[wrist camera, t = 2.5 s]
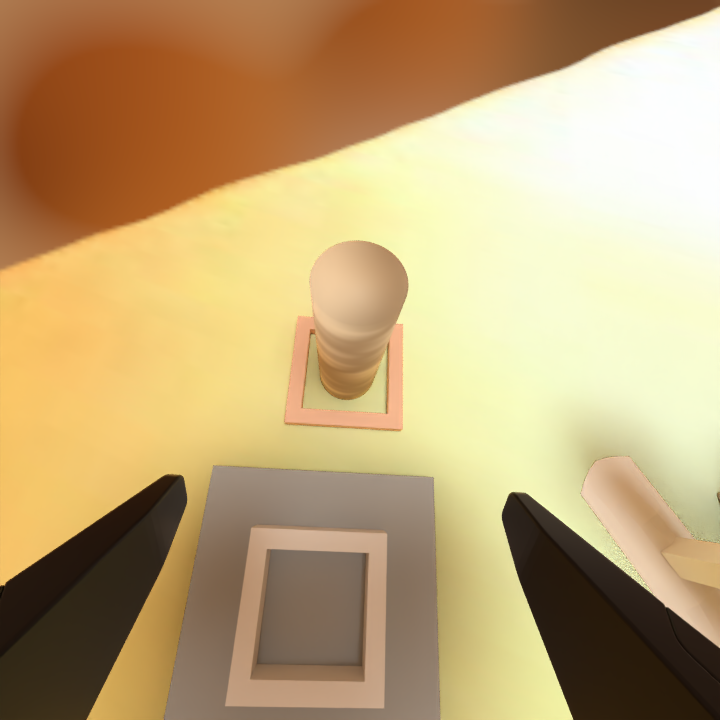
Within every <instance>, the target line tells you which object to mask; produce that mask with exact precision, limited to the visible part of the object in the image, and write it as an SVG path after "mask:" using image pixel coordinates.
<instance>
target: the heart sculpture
mask: <svg viewBox="0 0 720 720" xmlns="http://www.w3.org/2000/svg"><path fill="white" fill-rule="evenodd" d="M581 495H582V497H583V498H584V499H585V501H586V502H587V503H588V505H589V506H590V508H591V509H592V510H593V512H594V513H595V514H596V516H597V517H598V519H599V520H600V521H601V523H602V524H603V525H604V527H605V528H606V530H607V531H608V532H609V534H610V535H611V536H612V538H613V539H614V540H615V542H616V543H617V545H618V546H619V547H620V549H621V550H622V551H623V553H624V554H625V556H626V557H627V558H628V560H629V561H630V562H631V564H632V565H633V567H634V568H635V569H636V571H637V572H638V573H639V575H640V576H641V578H642V579H643V580H644V582H645V583H646V584H647V586H648V587H649V589H650V590H651V591H652V593H653V594H654V595H655V597H656V598H657V599H659V600H660V601H661V602H662V603H664V605H665V607H669V608H670V609H671V610H672V611H674V612H675V613H676V614H677V615H679V616H680V617H681V618H682V619H684V620H685V621H686V622H687V623H689V624H690V625H691V626H692V627H694V628H695V629H696V630H698V631H699V632H700V633H701V634H703V635H704V636H705V637H707V638H708V639H709V640H710V641H712V642H713V643H714V644H715V645H717V646H718V647H719V648H720V543H713V542H707V541H700V540H695V538H694V537H693V536H692V535H691V533H690V532H689V531H688V529H687V528H686V527H685V526H684V524H683V523H682V522H681V521H680V519H679V518H678V517H677V516H676V514H675V513H674V512H673V511H672V509H671V508H670V507H669V506H668V504H667V503H666V502H665V501H664V499H663V498H662V497H661V496H660V494H659V493H658V492H657V491H656V489H655V488H654V487H653V486H652V484H651V483H650V482H649V481H648V479H647V478H646V477H645V475H644V474H643V473H642V472H641V470H640V469H639V468H638V467H637V465H636V464H635V463H634V462H633V460H632V459H631V458H630V457H629V456H615V457H607V458H603V459H600V460H597V461H595V462H594V464H593V465H592V467H591V468H590V469H589V471H588V474H587V476H586V478H585V481H584V484H583V487H582V491H581Z"/></svg>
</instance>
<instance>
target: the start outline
mask: <svg viewBox="0 0 720 720" xmlns="http://www.w3.org/2000/svg"><path fill="white" fill-rule="evenodd" d="M311 334H315V326H314V317H305V316H298V320H297V328H296V336H295V344H294V351H293V359H292V367H291V375H290V383H289V390H288V398H287V406H286V414H285V421H284V422H285V423H286V424H294V425H310V426H327V427H343V428H359V429H376V430H392V431H401V430H402V429H403V324H395V327H394V330H393V332H392V335H391V337H390V340H389V342H388V368H387V414H383V413H368V412H352V411H336V410H321V409H305V408H302V407H303V398H304V389H305V380H306V371H307V362H308V353H309V344H310V335H311Z"/></svg>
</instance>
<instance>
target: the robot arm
mask: <svg viewBox="0 0 720 720" xmlns="http://www.w3.org/2000/svg"><path fill="white" fill-rule="evenodd" d="M186 504H187V493H186V487H185V481H184V477H183V476H182V475H174V474H167V475H164V476H163V477H161V478H160V479H158V480H157V481H155V482H154V483H152V484H151V485H149V486H148V487H146V488H145V489H143V490H142V491H140V492H139V493H137V494H136V495H134V496H133V497H131V498H130V499H129V500H127V501H126V502H124V503H123V504H121V505H120V506H118V507H117V508H115V509H114V510H112V511H111V512H109V513H108V514H106V515H105V516H103V517H102V518H100V519H99V520H97V521H96V522H94V523H93V524H92V525H90V526H89V527H87V528H86V529H84V530H83V531H81V532H80V533H78V534H77V535H75V536H74V537H72V538H71V539H69V540H68V541H66V542H65V543H63V544H62V545H60V546H59V547H57V548H56V549H55V550H53V551H52V552H50V553H49V554H47V555H46V556H44V557H43V558H41V559H40V560H38V561H37V562H35V563H34V564H32V565H31V566H29V567H28V568H26V569H25V570H23V571H22V572H20V573H19V574H18V575H16V576H15V577H13V578H12V579H10V580H9V581H7V582H6V584H5V586H4V585H1V586H0V720H86V719H87V717H88V715H89V713H90V711H91V709H92V707H93V705H94V703H95V701H96V699H97V697H98V695H99V693H100V691H101V689H102V687H103V685H104V683H105V681H106V679H107V677H108V675H109V673H110V671H111V669H112V667H113V665H114V663H115V661H116V659H117V657H118V655H119V653H120V651H121V649H122V647H123V645H124V643H125V641H126V639H127V637H128V635H129V633H130V631H131V629H132V627H133V625H134V623H135V621H136V619H137V617H138V615H139V613H140V611H141V609H142V607H143V605H144V603H145V601H146V599H147V597H148V595H149V593H150V591H151V589H152V587H153V585H154V583H155V581H156V579H157V577H158V575H159V573H160V571H161V569H162V567H163V564H164V562H165V559H166V557H167V555H168V552H169V549H170V547H171V544H172V541H173V539H174V536H175V534H176V531H177V528H178V526H179V523H180V520H181V518H182V515H183V513H184V510H185V507H186ZM502 521H503V525H504V529H505V532H506V536H507V539H508V543H509V546H510V550H511V553H512V557H513V560H514V564H515V568H516V571H517V574H518V577H519V580H520V583H521V586H522V588H523V591H524V594H525V596H526V599H527V601H528V604H529V606H530V609H531V612H532V614H533V617H534V619H535V622H536V624H537V627H538V630H539V632H540V635H541V637H542V640H543V642H544V645H545V648H546V650H547V653H548V655H549V658H550V661H551V663H552V666H553V668H554V671H555V673H556V676H557V679H558V681H559V684H560V686H561V689H562V691H563V694H564V697H565V699H566V702H567V704H568V707H569V710H570V712H571V715H572V717H573V720H720V648H719V647H718V646H717V645H715V644H714V643H713V642H712V641H710V640H709V639H708V638H707V637H705V636H704V635H703V634H701V633H700V632H699V631H698V630H696V629H695V628H694V627H692V626H691V625H690V624H689V623H687V622H686V621H685V620H684V619H682V618H681V617H680V616H679V615H677V614H676V613H675V612H674V611H672V610H671V609H670V608H669V607H665V605H664V603H662V602H661V601H660V600H659V599H657V598H656V597H655V596H654V595H652V594H651V593H650V592H649V591H647V590H646V589H645V588H644V587H642V586H641V585H640V584H639V583H637V582H636V581H635V580H634V579H632V578H631V577H630V576H629V575H627V574H626V573H625V572H624V571H623V570H621V569H620V568H619V567H618V566H616V565H615V564H614V563H613V562H611V561H610V560H609V559H608V558H606V557H605V556H604V555H603V554H601V553H600V552H599V551H598V550H596V549H595V548H594V547H593V546H591V545H590V544H589V543H588V542H586V541H585V540H584V539H583V538H581V537H580V536H579V535H578V534H576V533H575V532H574V531H573V530H571V529H570V528H569V527H568V526H566V525H565V524H564V523H563V522H562V521H560V520H559V519H558V518H557V517H555V516H554V515H553V514H552V513H550V512H549V511H548V510H547V509H545V508H544V507H543V506H542V505H540V504H539V503H538V502H537V501H535V500H534V499H533V498H532V497H530V496H529V495H528V494H526V493H521V492H511V493H510V494H509V496H508V498H507V501H506V504H505V506H504V509H503V512H502Z"/></svg>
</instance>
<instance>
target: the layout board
mask: <svg viewBox="0 0 720 720" xmlns="http://www.w3.org/2000/svg"><path fill="white" fill-rule="evenodd" d="M164 720H440V691H439V655H438V620H437V584H436V549H435V513H434V478H433V477H419V476H400V475H382V474H363V473H344V472H326V471H307V470H288V469H270V468H251V467H232V466H214V465H213V470H212V475H211V480H210V485H209V490H208V495H207V500H206V506H205V511H204V516H203V521H202V526H201V531H200V536H199V541H198V547H197V552H196V557H195V562H194V567H193V572H192V577H191V582H190V588H189V593H188V598H187V603H186V608H185V613H184V618H183V623H182V629H181V634H180V639H179V644H178V649H177V654H176V659H175V664H174V670H173V675H172V680H171V685H170V690H169V695H168V700H167V705H166V711H165V716H164Z"/></svg>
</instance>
